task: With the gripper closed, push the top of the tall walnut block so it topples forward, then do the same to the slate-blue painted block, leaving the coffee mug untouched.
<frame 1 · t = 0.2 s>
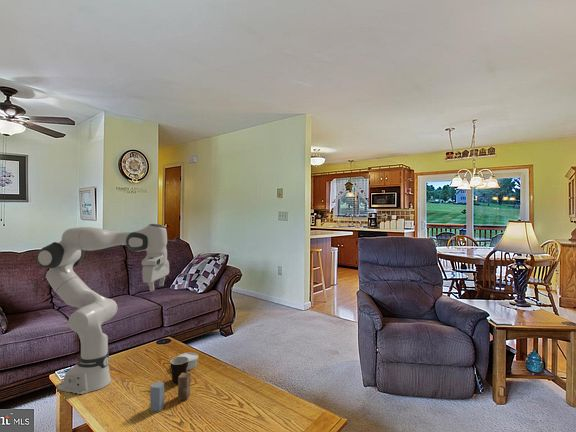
hand: (156, 288, 151), 47 cm above the table, fingers open, 8 cm apart
ramekin: (187, 366, 174), on the table
slate block: (157, 408, 137), on the table
coffee mug: (180, 379, 160), on the table
walnut block: (184, 397, 145), on the table
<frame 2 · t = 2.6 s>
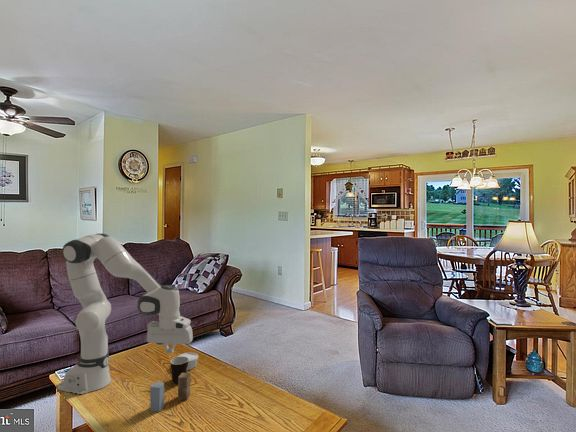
hand: (169, 352, 145), 20 cm above the table, fingers closed
nothing on the table moved.
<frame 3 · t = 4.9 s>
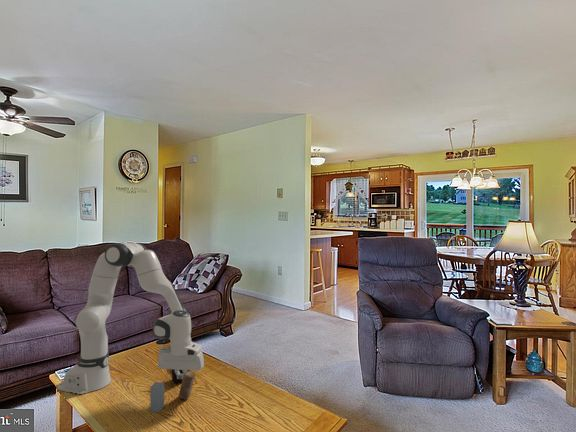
hand: (180, 378, 145), 8 cm above the table, fingers closed
walnut block: (184, 396, 145), on the table, tilted 14°
everything else where it was.
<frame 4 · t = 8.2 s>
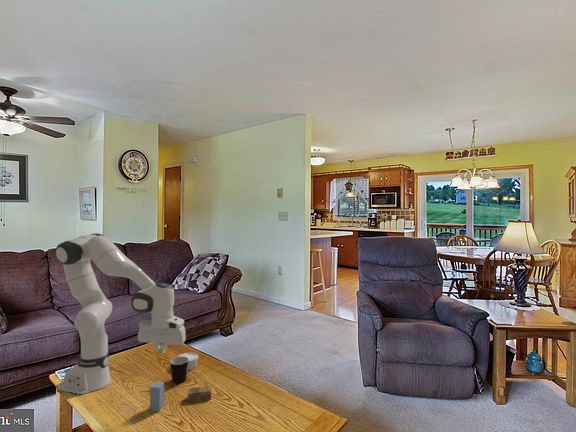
hand: (161, 352, 140), 22 cm above the table, fingers closed
walnut block: (187, 395, 143), point 2 cm above the table, tilted 90°
everything else where it was.
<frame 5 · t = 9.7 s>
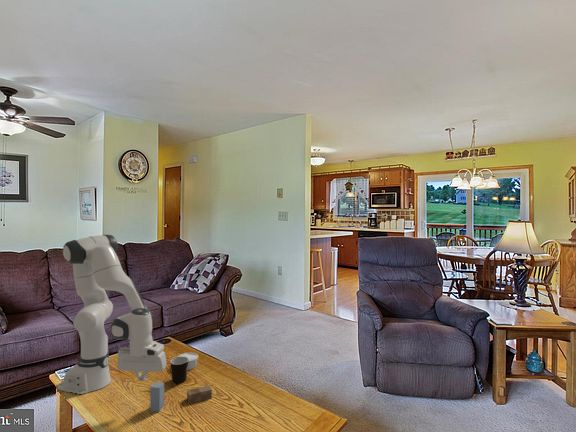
hand: (142, 380, 137), 12 cm above the table, fingers closed
walnut block: (187, 397, 142), point 2 cm above the table, tilted 90°
everything else where it was.
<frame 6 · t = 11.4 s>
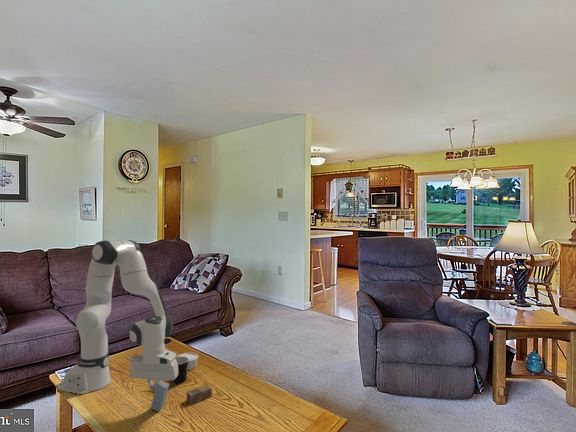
hand: (153, 388, 137), 8 cm above the table, fingers closed
slate block: (157, 407, 137), on the table, tilted 14°
walnut block: (188, 398, 141), point 2 cm above the table, tilted 90°
everything else where it was.
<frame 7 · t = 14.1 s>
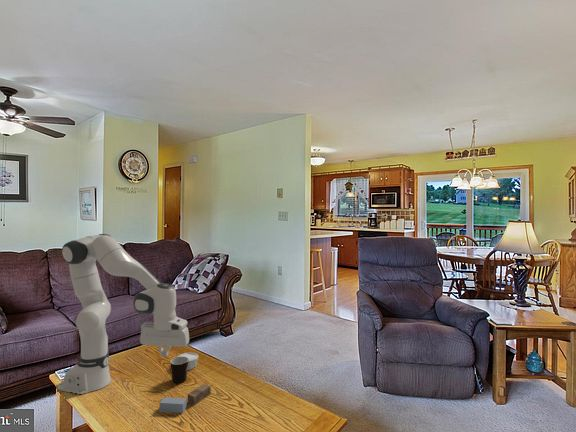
hand: (164, 355, 136), 23 cm above the table, fingers closed
slate block: (161, 404, 136), point 2 cm above the table, tilted 90°
walnut block: (190, 400, 140), point 2 cm above the table, tilted 90°
everything else where it was.
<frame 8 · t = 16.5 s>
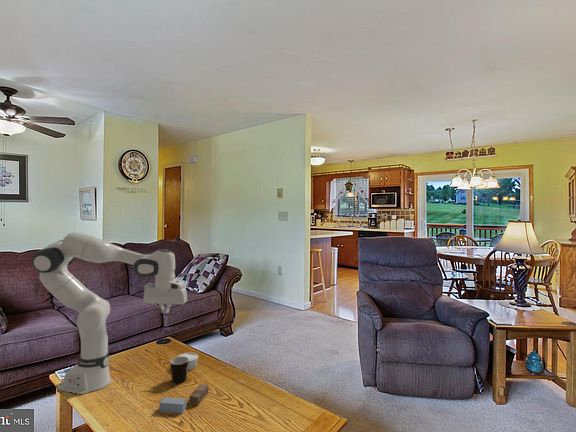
hand: (165, 312, 153), 35 cm above the table, fingers closed
walnut block: (193, 400, 139), point 2 cm above the table, tilted 90°
everything else where it was.
at the end: walnut block tilted 90°; slate block tilted 90°; coffee mug moved 0.2 cm from its start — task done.
